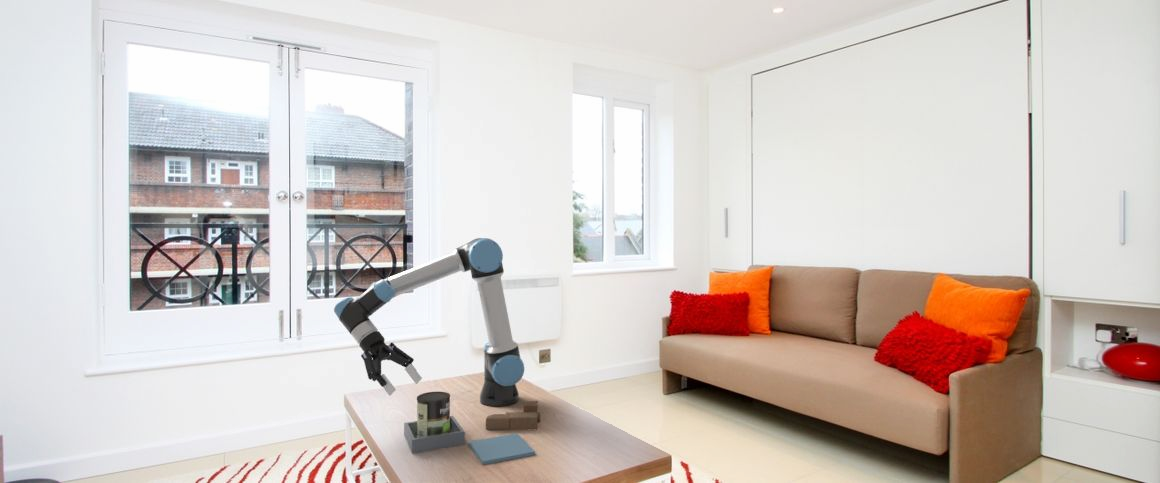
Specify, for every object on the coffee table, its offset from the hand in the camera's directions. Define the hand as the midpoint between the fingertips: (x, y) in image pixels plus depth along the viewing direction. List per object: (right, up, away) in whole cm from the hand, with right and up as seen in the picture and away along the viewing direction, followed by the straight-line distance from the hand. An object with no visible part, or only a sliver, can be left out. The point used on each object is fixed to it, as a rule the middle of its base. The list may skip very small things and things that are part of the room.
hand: (406, 386), depth 177 cm
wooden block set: (+33, -16, +14) cm, 40 cm away
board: (+32, -16, -11) cm, 38 cm away
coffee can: (+10, -16, -3) cm, 19 cm away
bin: (+10, -16, -3) cm, 19 cm away
